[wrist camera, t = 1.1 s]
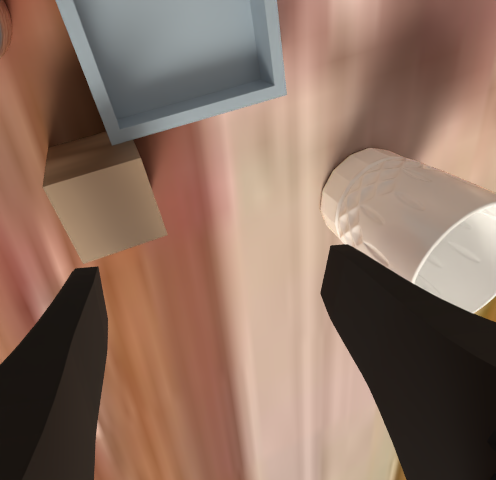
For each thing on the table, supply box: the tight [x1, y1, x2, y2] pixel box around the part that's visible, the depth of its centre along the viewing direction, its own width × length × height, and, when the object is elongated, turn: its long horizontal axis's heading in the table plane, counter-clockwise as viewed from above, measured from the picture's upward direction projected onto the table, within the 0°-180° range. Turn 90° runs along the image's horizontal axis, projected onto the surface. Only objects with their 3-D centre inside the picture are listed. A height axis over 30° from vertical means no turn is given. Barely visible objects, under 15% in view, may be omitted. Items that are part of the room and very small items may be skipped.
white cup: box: [320, 148, 496, 313], centre depth 24 cm, size 8×8×10 cm
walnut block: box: [43, 131, 167, 264], centre depth 19 cm, size 4×4×5 cm
